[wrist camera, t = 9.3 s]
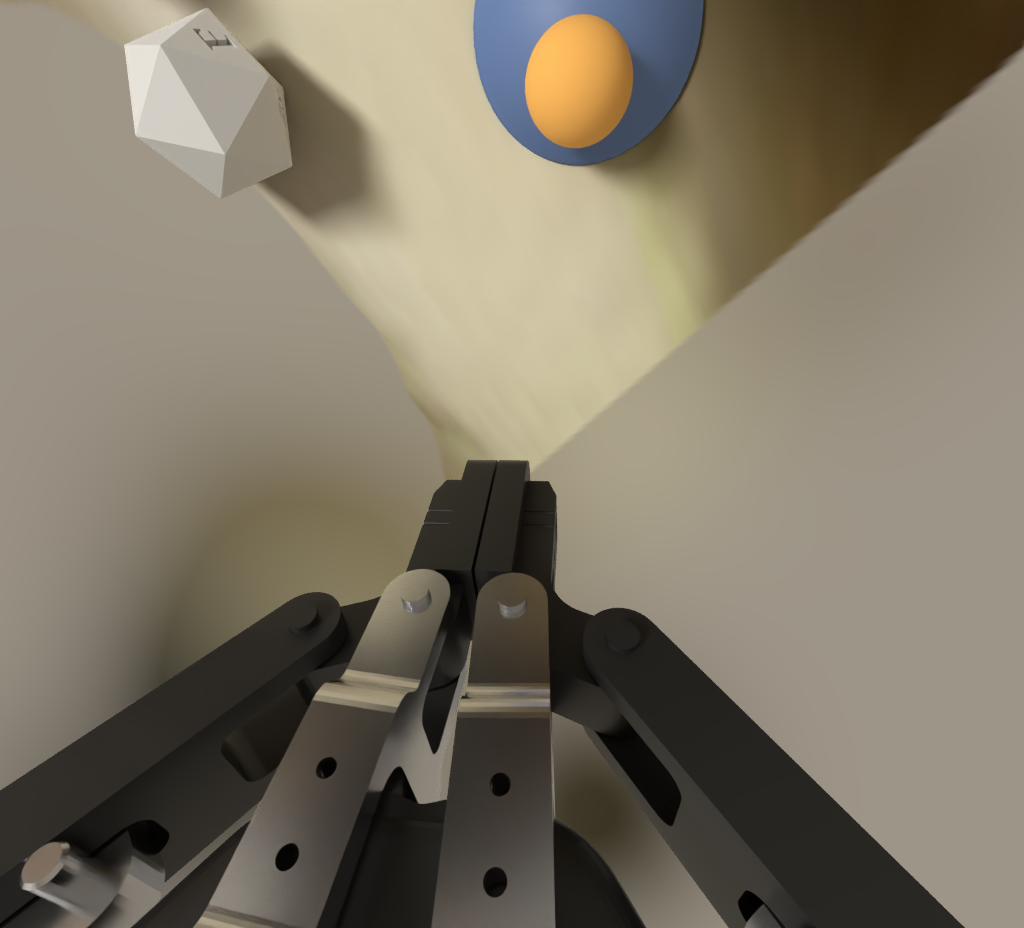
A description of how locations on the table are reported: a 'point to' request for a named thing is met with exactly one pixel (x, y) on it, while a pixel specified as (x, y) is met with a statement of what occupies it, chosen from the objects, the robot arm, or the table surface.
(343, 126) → the table surface
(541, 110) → the ball
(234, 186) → the die
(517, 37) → the blue plate
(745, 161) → the table surface
